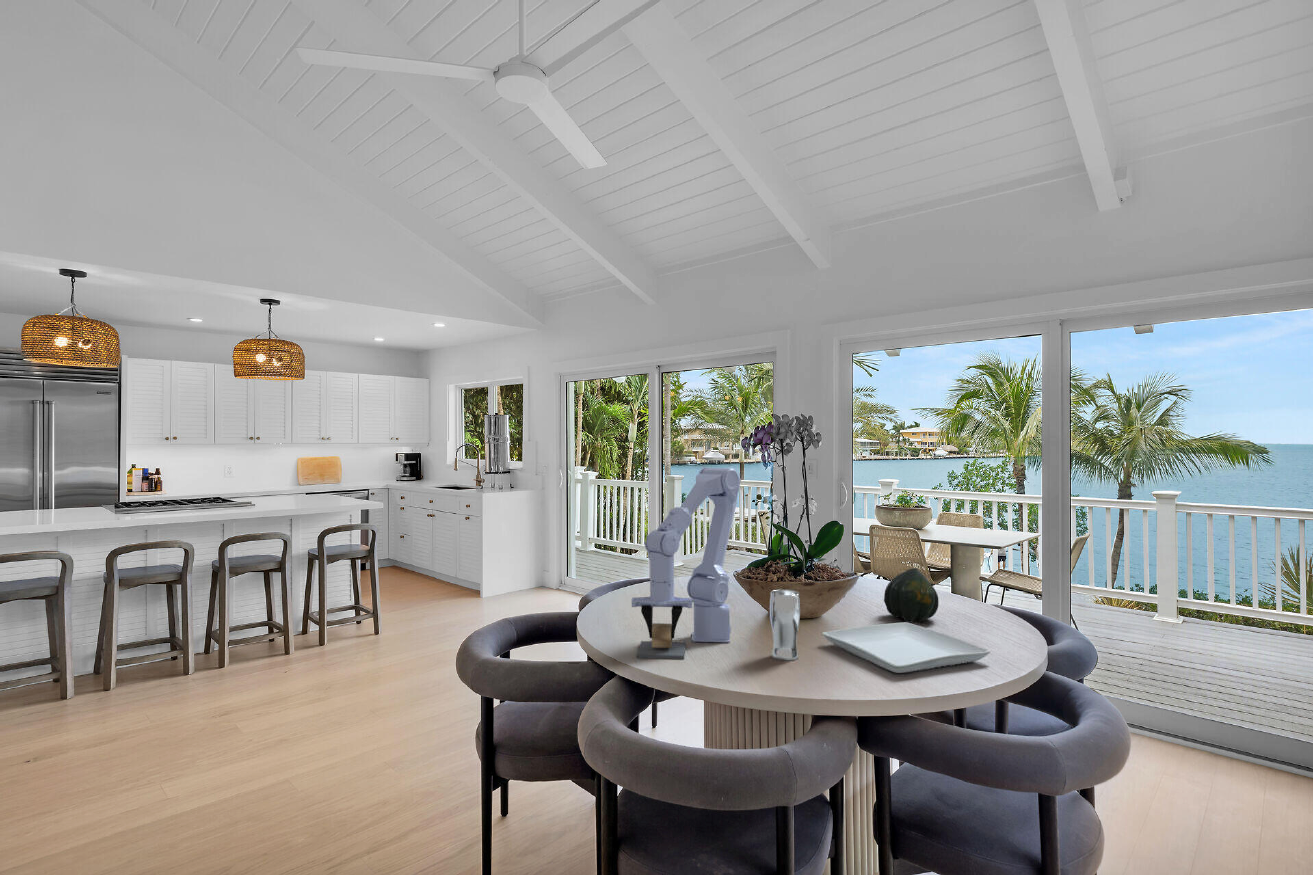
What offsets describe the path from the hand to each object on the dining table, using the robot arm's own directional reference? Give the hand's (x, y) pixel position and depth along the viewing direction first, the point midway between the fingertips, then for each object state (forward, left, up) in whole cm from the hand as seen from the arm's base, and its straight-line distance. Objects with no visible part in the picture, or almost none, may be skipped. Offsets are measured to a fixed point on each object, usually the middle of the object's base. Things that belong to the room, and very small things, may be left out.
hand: (661, 637), depth 160 cm
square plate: (-57, -2, -4) cm, 57 cm away
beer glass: (-29, +2, -4) cm, 29 cm away
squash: (-69, -36, -4) cm, 78 cm away
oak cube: (0, 0, -2) cm, 2 cm away
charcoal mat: (0, 0, -3) cm, 3 cm away
